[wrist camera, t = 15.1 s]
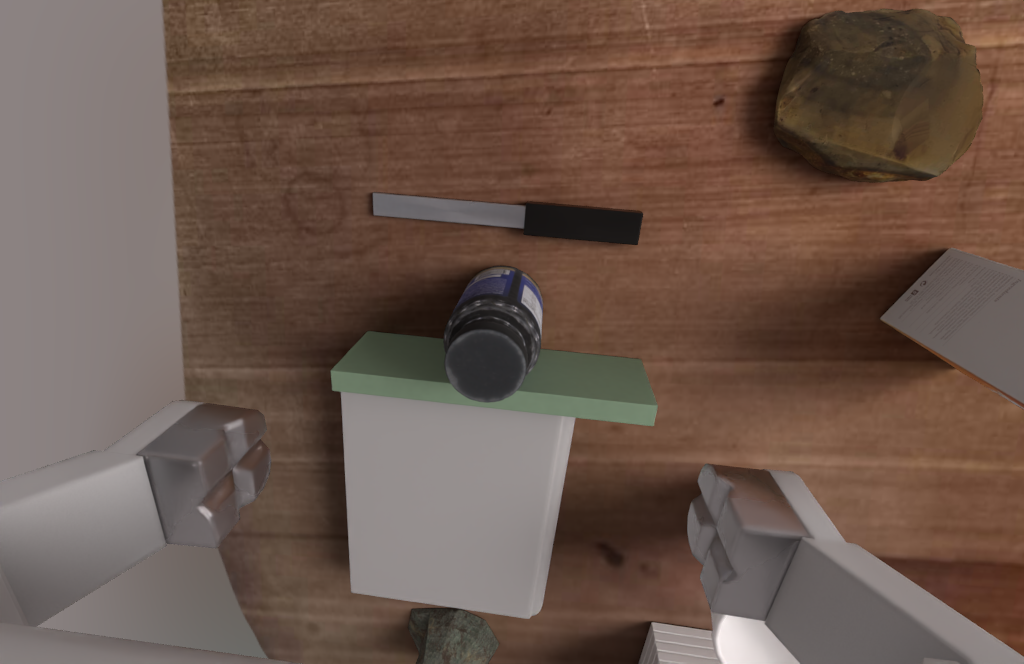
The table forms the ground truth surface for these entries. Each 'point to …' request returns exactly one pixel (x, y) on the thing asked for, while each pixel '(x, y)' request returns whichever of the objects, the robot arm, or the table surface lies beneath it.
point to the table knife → (519, 216)
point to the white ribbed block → (678, 646)
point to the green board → (545, 390)
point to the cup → (747, 642)
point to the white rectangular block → (452, 501)
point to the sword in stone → (451, 637)
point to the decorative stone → (880, 95)
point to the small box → (969, 319)
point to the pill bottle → (494, 334)
